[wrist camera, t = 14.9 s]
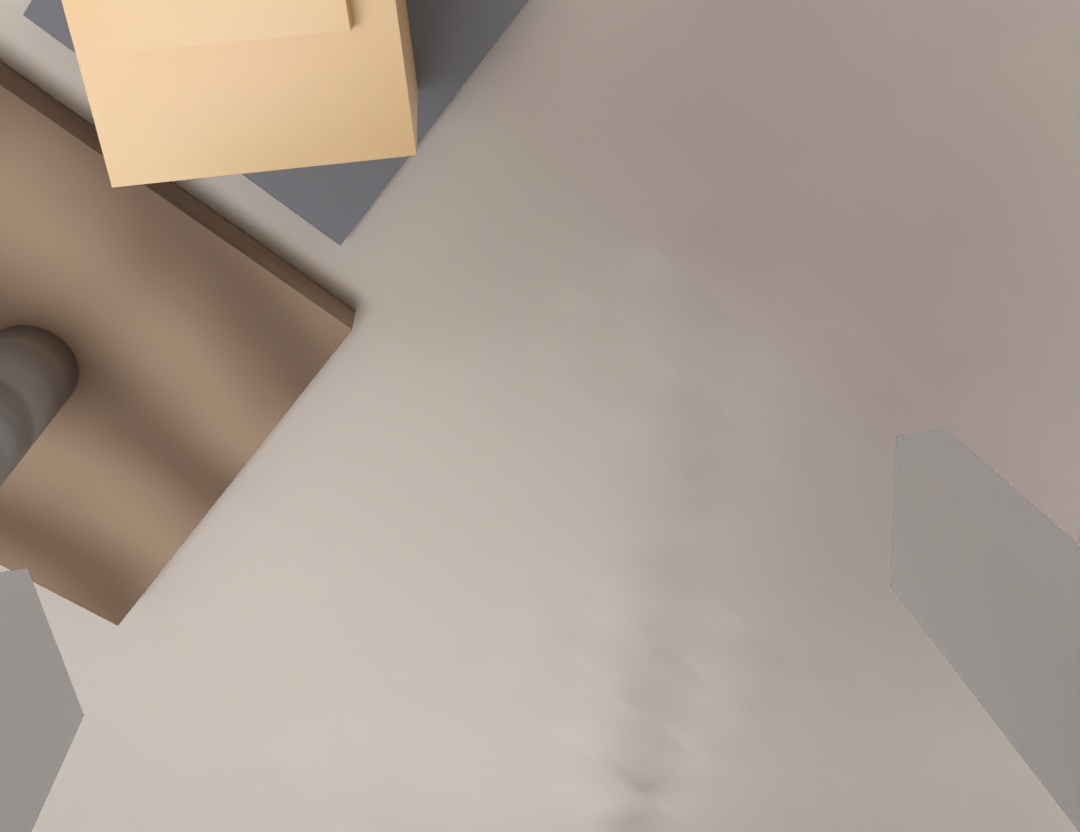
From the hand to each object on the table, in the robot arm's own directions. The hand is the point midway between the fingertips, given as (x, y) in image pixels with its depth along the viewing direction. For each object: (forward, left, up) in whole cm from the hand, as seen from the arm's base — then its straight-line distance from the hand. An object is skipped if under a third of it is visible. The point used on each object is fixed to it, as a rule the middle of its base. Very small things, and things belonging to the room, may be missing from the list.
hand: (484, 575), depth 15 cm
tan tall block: (+3, +8, -23) cm, 24 cm away
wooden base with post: (-13, +8, -24) cm, 28 cm away
